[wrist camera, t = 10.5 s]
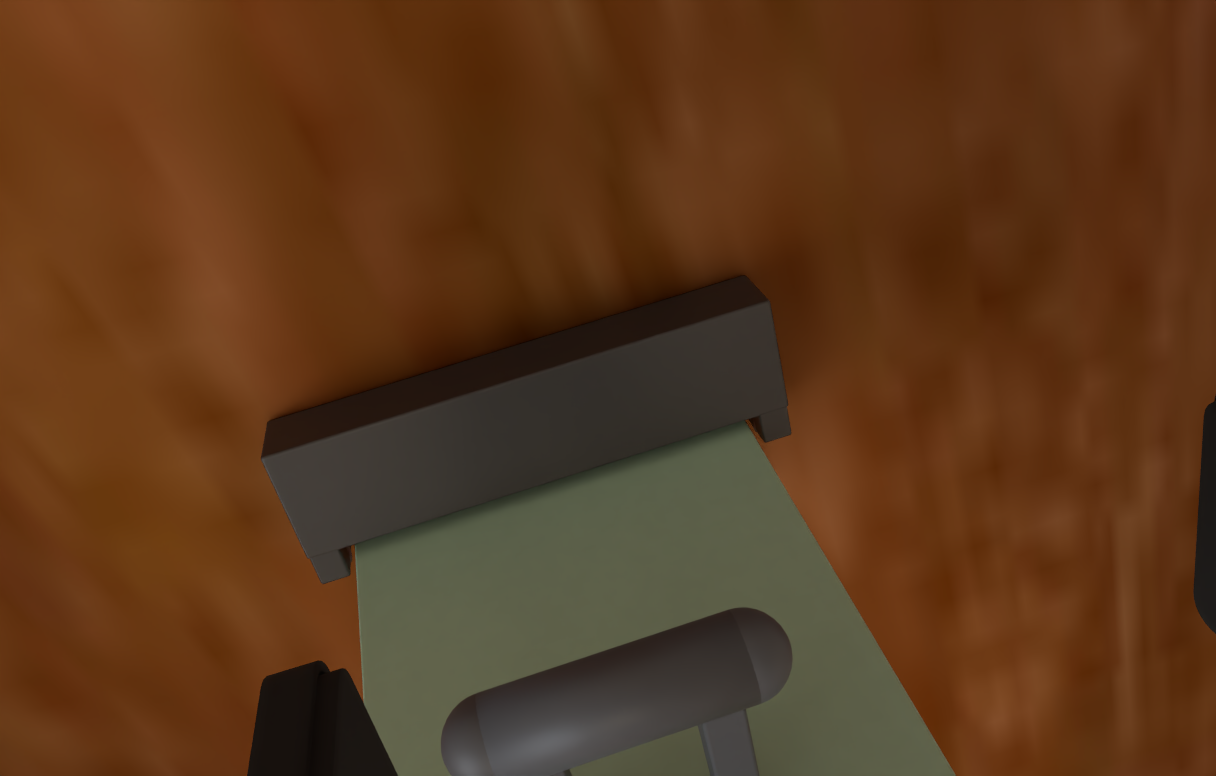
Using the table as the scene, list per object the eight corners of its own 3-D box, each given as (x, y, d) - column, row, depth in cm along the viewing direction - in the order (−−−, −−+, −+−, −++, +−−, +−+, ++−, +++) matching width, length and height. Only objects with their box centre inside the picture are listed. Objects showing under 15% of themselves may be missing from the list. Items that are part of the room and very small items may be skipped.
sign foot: (266, 420, 27) (259, 458, 26) (745, 273, 28) (770, 299, 26) (325, 550, 29) (323, 593, 28) (770, 408, 30) (795, 441, 28)
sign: (367, 570, 29) (285, 401, 25) (748, 448, 29) (719, 268, 26) (403, 1086, 18) (269, 919, 15) (995, 874, 19) (1002, 667, 15)
